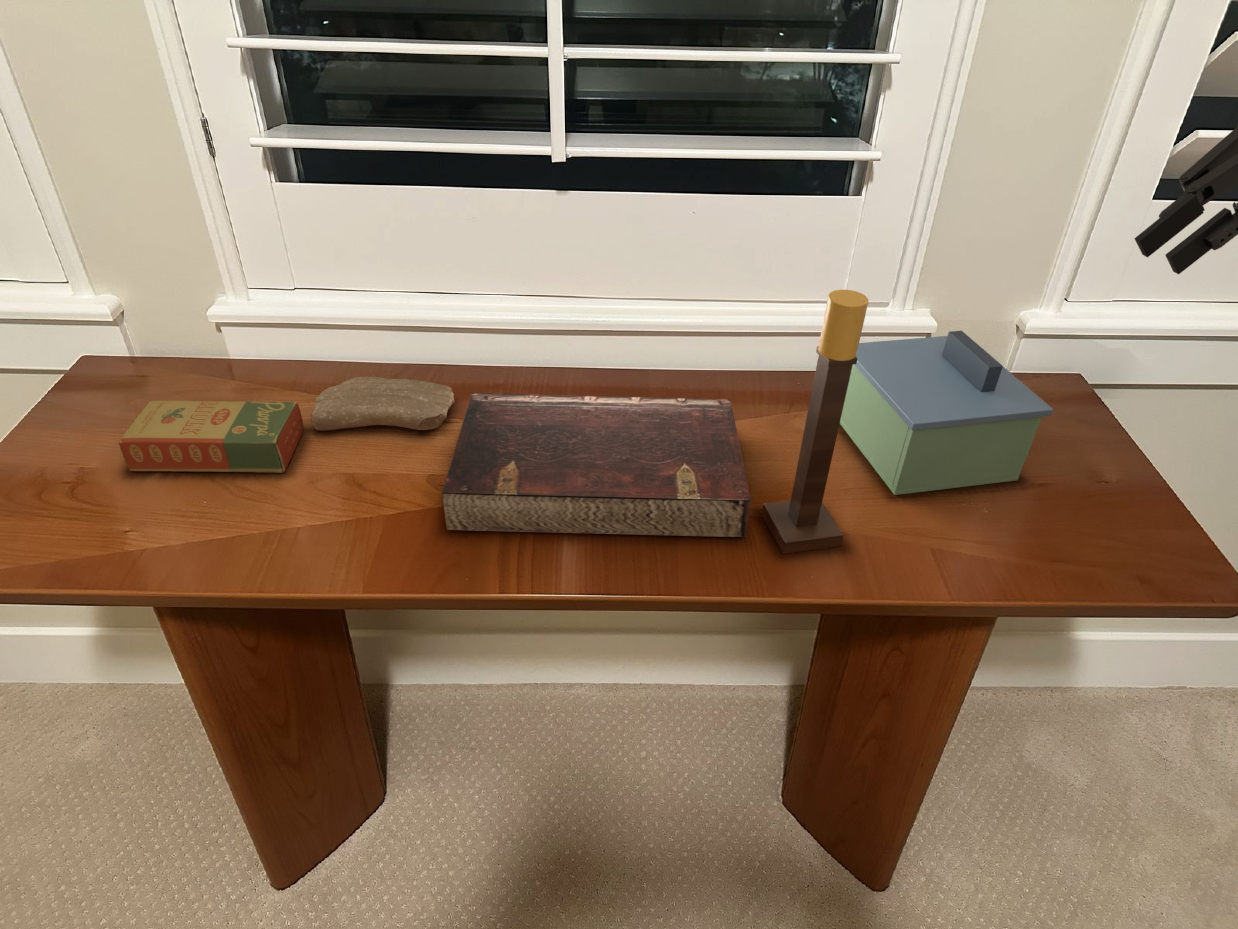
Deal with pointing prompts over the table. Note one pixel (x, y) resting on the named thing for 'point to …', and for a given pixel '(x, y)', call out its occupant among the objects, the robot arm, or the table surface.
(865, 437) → the bin
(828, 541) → the stand
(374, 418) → the decorative stone
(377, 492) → the table surface
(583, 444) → the hardback book
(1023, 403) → the lid
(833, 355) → the peg
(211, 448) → the carton
